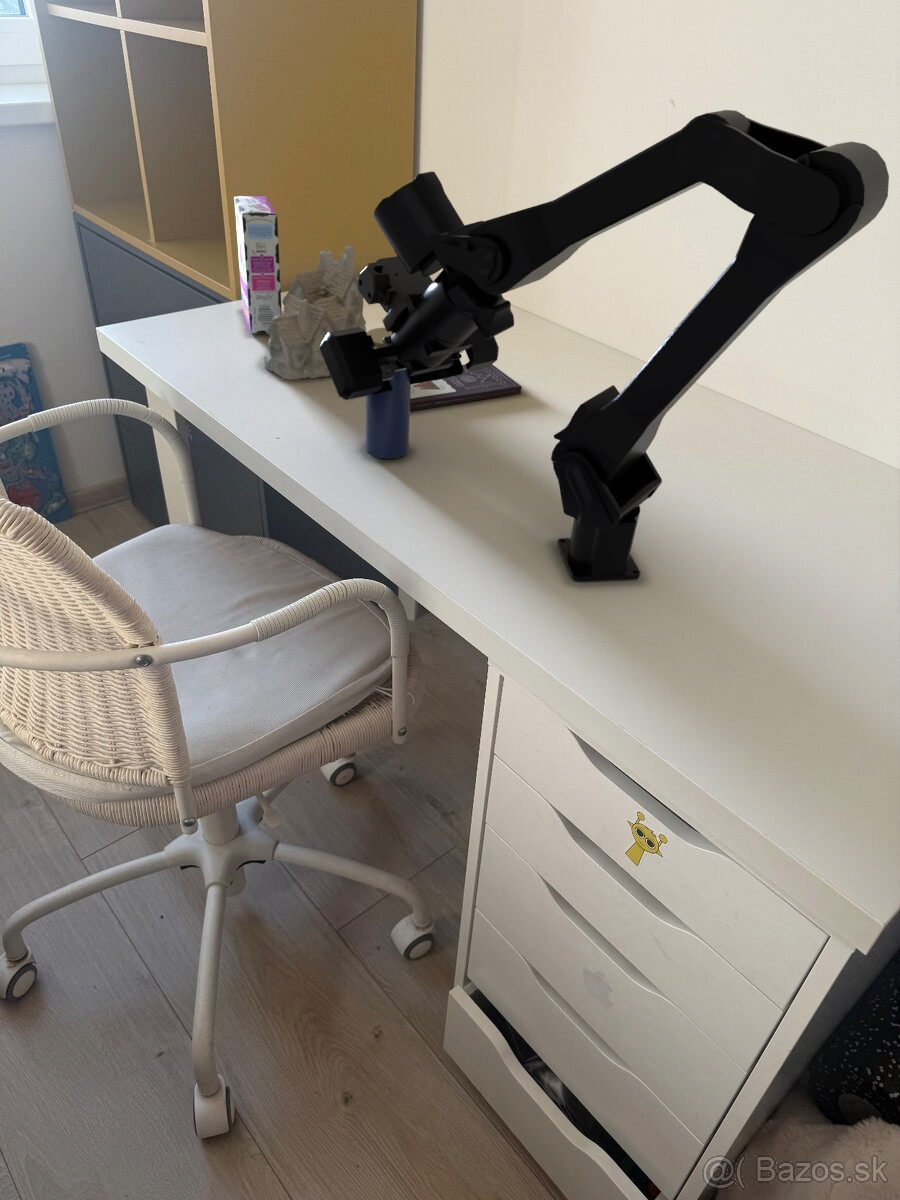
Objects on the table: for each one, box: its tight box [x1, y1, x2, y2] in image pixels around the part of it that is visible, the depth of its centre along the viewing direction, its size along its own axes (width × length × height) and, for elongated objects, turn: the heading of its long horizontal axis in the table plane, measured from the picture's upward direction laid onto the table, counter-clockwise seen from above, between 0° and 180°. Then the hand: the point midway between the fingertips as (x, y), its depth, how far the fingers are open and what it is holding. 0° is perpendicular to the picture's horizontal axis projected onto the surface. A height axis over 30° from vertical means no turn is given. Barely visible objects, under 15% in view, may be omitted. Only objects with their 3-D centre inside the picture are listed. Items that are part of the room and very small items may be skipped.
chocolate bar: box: [410, 363, 522, 412], centre depth 108 cm, size 9×1×18 cm
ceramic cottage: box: [263, 245, 367, 381], centre depth 111 cm, size 16×16×15 cm
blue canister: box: [365, 327, 411, 460], centre depth 90 cm, size 5×5×13 cm
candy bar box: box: [233, 195, 283, 335], centre depth 119 cm, size 11×5×16 cm, turn 17°
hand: (381, 385), depth 90 cm, fingers closed on blue canister, 5 cm apart
